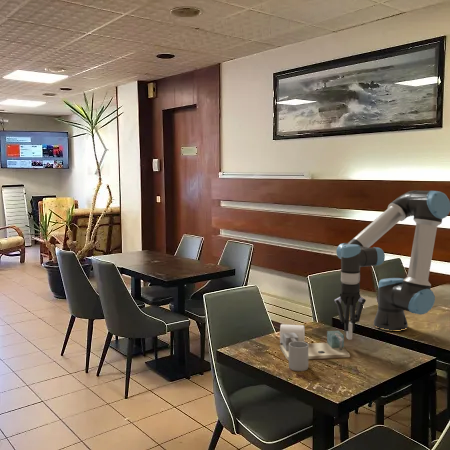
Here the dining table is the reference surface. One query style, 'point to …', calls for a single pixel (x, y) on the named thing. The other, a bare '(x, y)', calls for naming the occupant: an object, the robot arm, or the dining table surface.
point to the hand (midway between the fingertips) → (349, 338)
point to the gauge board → (313, 348)
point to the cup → (298, 356)
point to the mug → (292, 331)
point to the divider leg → (335, 339)
